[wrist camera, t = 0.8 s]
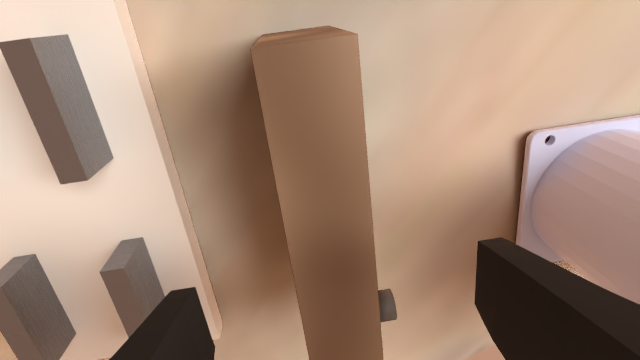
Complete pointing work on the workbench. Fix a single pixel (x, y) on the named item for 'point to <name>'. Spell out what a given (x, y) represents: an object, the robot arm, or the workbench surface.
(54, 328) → the hinge clips
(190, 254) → the cabinet panel
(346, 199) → the brown wooden block
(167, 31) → the workbench surface
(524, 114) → the workbench surface
